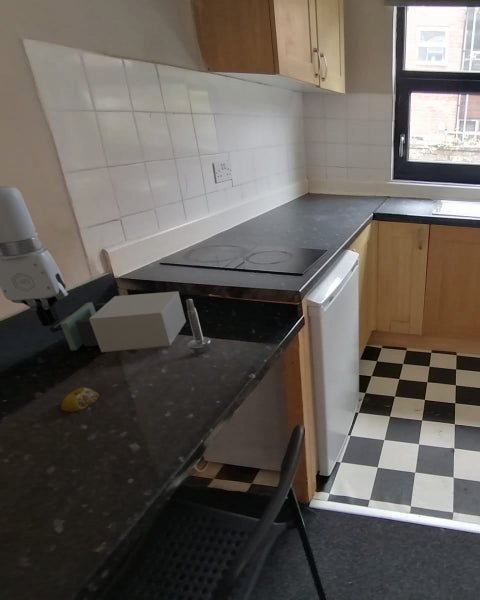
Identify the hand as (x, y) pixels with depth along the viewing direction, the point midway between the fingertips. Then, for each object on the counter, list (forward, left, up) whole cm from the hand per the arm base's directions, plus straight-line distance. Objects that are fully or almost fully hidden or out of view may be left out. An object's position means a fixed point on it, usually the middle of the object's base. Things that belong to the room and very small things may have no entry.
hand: (51, 323), depth 93 cm
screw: (+34, -10, -6) cm, 36 cm away
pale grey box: (+19, 0, -6) cm, 20 cm away
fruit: (+20, -28, -6) cm, 35 cm away
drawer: (+10, 0, -5) cm, 11 cm away
